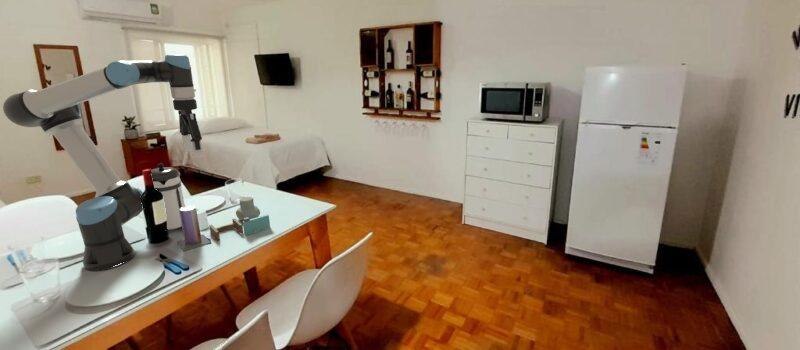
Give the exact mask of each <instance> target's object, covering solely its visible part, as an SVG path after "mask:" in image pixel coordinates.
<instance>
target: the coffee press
mask: <svg viewBox="0 0 800 350" xmlns="http://www.w3.org/2000/svg"><path fill="white" fill-rule="evenodd" d="M150 170H151V172H152V178H153V183H154V187H155V189H157V190H158V191H160V192H161V193H162V194H163V197H164V202H165V208H166V214H167V229H168V230H167V231H170V230H176V229H179V228H181V229H182V224H181V218H180V213H179V211H180V210H179V209H180V208H182V207H184V206H186V204H185V199H184V194H183V189H182V185H183V184H182V181H181V178H180V176H181V173H180V171H179V170H178V169H176V168H175V167H171V166H169V167H167V166H166V167H165V165H164V163H162V162H160V163H158V164H157V167H156V168H153V169H150Z"/></svg>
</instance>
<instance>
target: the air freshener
mask: <svg viewBox="0 0 800 350" xmlns="http://www.w3.org/2000/svg"><path fill="white" fill-rule="evenodd" d="M239 205H240V206H239V208H238V209H236V211H235V214H236V215H235V216H236V217H237V219H238V220H240V221H242V222H243V221H244V220H243V218H246V217H249V218H250V219H253V218H257V217H260V215H261V210H260V208H259V207H258V206H256V205H255V203H254V197H252V196H245V197H241V198H240V199H239Z"/></svg>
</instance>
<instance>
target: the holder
mask: <svg viewBox="0 0 800 350" xmlns="http://www.w3.org/2000/svg"><path fill="white" fill-rule="evenodd" d="M208 226H209V227H208V228H209V232H210V235H211V236H212V237H213V238H214V239H215V240H216V241H217V242H219V241H221V238H220V233H222V232H224V231H228V230H232V229H235V230H236V231H237V232H238V233H239V234H241V235H242V234H244V227H243V223H241V222H239V221H238V220H237V219H236V218H232V223H228V224H225V225H221V226H217V227H215V226H214V225H213V224H209V225H208Z"/></svg>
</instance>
